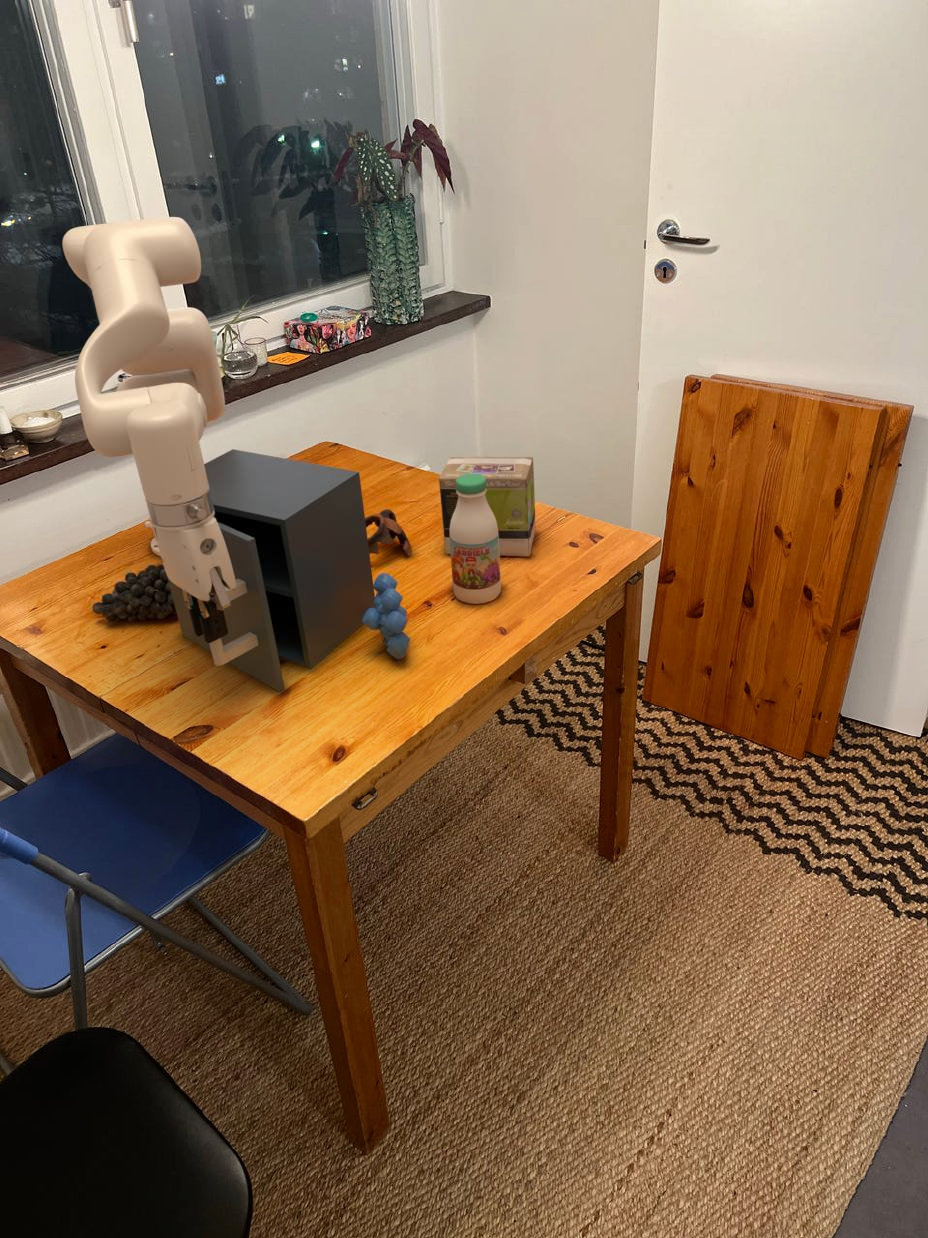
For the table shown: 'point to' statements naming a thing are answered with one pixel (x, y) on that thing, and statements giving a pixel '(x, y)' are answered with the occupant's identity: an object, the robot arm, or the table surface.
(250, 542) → the cupboard door
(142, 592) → the fruit
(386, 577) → the grapes
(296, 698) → the table surface
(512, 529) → the tea box
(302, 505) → the cupboard
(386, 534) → the brown curved legged piece
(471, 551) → the milk bottle
